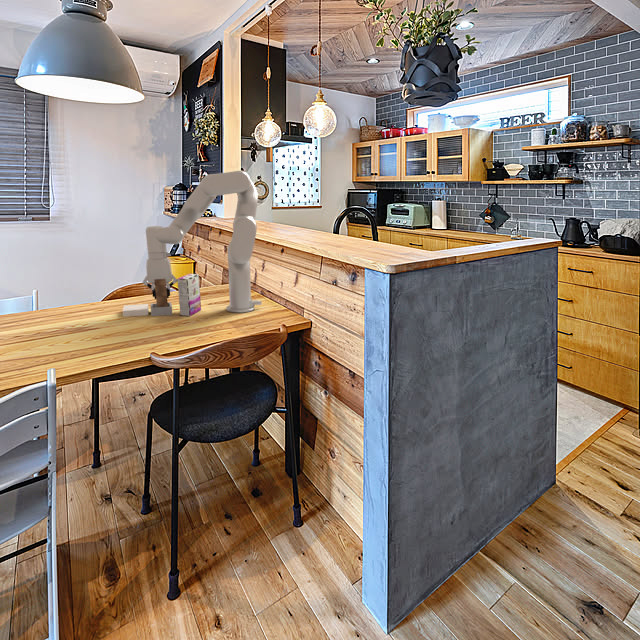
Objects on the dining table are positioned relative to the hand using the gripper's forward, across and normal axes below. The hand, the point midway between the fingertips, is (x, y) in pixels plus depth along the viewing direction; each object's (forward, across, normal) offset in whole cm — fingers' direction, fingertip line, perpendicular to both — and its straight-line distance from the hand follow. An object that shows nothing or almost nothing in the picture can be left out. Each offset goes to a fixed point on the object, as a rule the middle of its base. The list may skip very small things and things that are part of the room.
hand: (161, 297), depth 202 cm
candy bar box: (+7, -11, +3) cm, 14 cm away
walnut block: (+5, 0, 0) cm, 5 cm away
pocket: (+7, +1, 0) cm, 7 cm away
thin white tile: (+7, +11, -3) cm, 13 cm away
